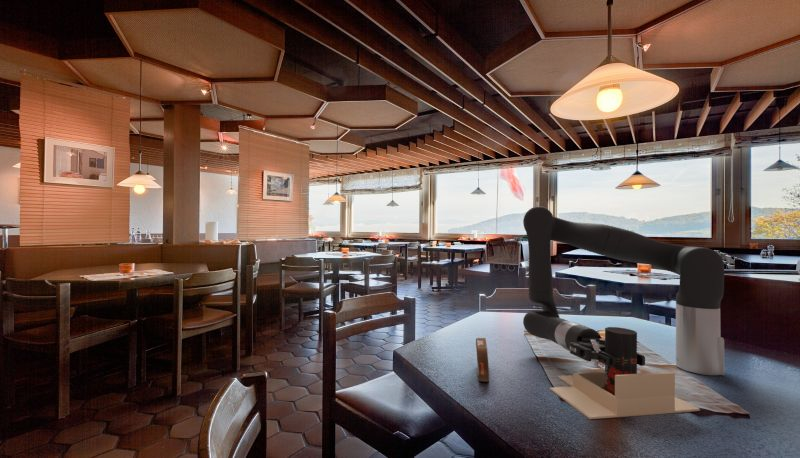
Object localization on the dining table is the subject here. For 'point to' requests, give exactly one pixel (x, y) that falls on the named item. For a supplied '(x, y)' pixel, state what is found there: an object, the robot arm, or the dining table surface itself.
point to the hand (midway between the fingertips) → (629, 361)
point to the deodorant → (620, 354)
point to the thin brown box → (482, 360)
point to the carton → (622, 395)
